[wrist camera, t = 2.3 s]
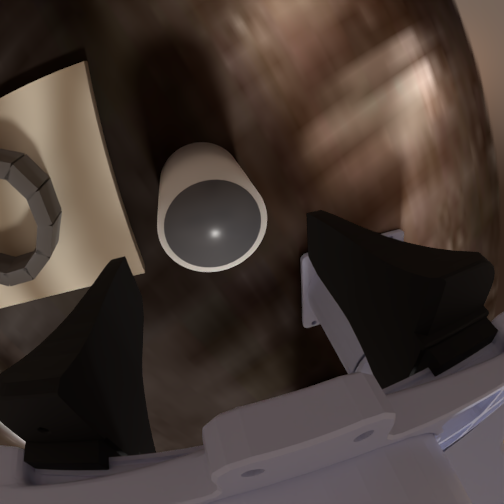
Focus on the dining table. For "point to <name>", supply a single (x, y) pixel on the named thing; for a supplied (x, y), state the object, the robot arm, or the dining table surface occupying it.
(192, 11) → the dining table surface
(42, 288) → the stand
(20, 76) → the dining table surface
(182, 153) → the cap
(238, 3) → the dining table surface
